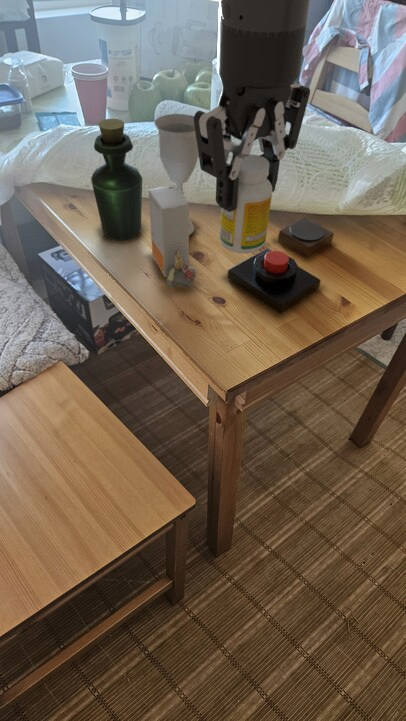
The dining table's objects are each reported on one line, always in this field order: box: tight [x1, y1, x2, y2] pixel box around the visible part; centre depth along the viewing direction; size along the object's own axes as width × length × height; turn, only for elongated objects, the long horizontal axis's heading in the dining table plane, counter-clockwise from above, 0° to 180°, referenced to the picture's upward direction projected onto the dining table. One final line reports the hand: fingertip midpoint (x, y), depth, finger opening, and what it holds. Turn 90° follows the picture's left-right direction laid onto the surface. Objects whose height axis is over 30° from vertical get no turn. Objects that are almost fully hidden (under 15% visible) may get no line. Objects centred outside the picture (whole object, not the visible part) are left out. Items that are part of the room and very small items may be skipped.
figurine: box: [166, 250, 197, 289], centre depth 76 cm, size 5×4×6 cm
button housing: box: [227, 247, 322, 314], centre depth 77 cm, size 11×9×4 cm
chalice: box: [154, 113, 199, 236], centre depth 82 cm, size 7×7×18 cm
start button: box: [264, 250, 290, 274], centre depth 76 cm, size 4×4×2 cm
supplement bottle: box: [219, 153, 273, 254], centre depth 56 cm, size 5×5×10 cm
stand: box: [277, 217, 335, 259], centre depth 86 cm, size 6×6×2 cm
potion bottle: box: [90, 118, 143, 241], centre depth 81 cm, size 8×8×18 cm
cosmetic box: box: [148, 184, 190, 278], centre depth 77 cm, size 6×4×12 cm
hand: (246, 198), depth 55 cm, fingers closed on supplement bottle, 5 cm apart
